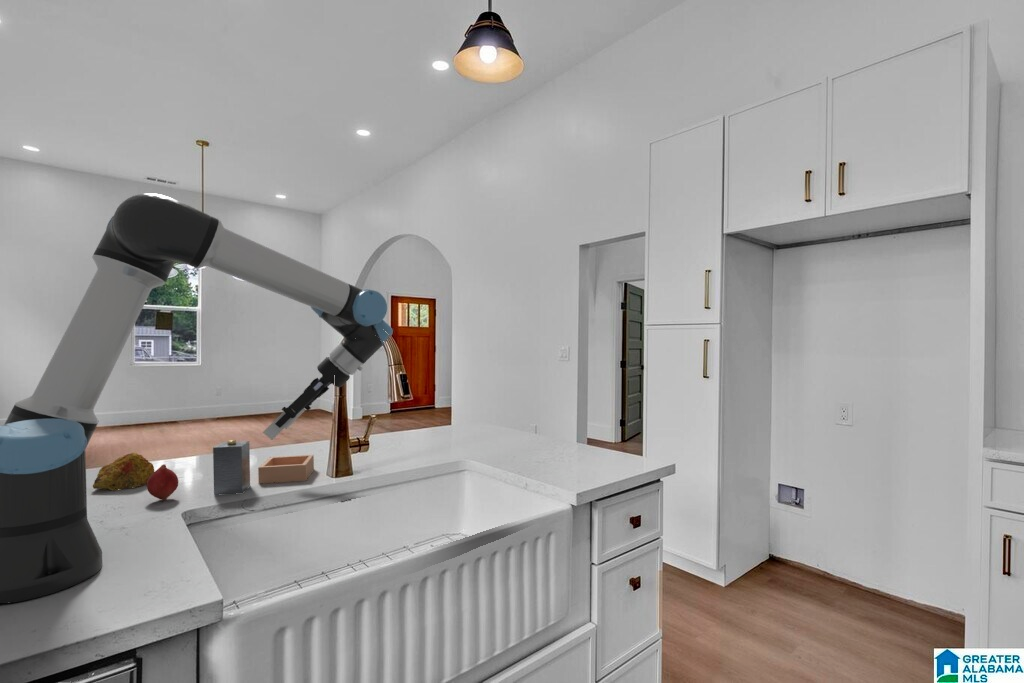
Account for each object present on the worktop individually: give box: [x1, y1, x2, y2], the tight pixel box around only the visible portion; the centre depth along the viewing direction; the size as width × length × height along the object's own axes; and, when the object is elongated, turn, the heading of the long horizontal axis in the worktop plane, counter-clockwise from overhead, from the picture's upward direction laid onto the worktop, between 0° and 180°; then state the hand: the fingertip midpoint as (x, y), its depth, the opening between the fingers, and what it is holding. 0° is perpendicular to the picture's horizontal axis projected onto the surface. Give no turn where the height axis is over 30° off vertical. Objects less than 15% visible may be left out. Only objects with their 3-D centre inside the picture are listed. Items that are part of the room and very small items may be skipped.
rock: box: [92, 452, 155, 491], centre depth 127 cm, size 11×8×10 cm
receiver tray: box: [257, 454, 315, 484], centre depth 133 cm, size 11×11×4 cm
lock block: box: [212, 439, 251, 496], centre depth 121 cm, size 6×6×12 cm
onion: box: [146, 463, 180, 501], centre depth 115 cm, size 6×6×8 cm
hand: (275, 430), depth 123 cm, fingers open, 13 cm apart
